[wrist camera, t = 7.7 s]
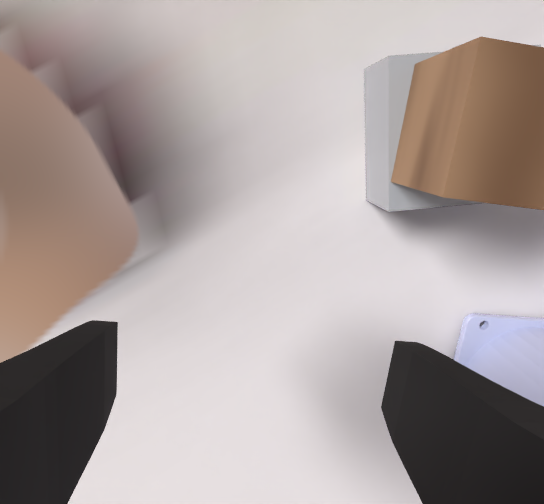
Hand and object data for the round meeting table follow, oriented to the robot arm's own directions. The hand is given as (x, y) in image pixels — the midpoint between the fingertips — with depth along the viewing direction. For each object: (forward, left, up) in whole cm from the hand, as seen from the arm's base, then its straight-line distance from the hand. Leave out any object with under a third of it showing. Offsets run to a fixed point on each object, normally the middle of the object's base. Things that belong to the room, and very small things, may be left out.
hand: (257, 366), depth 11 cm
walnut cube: (-8, -7, -7) cm, 13 cm away
